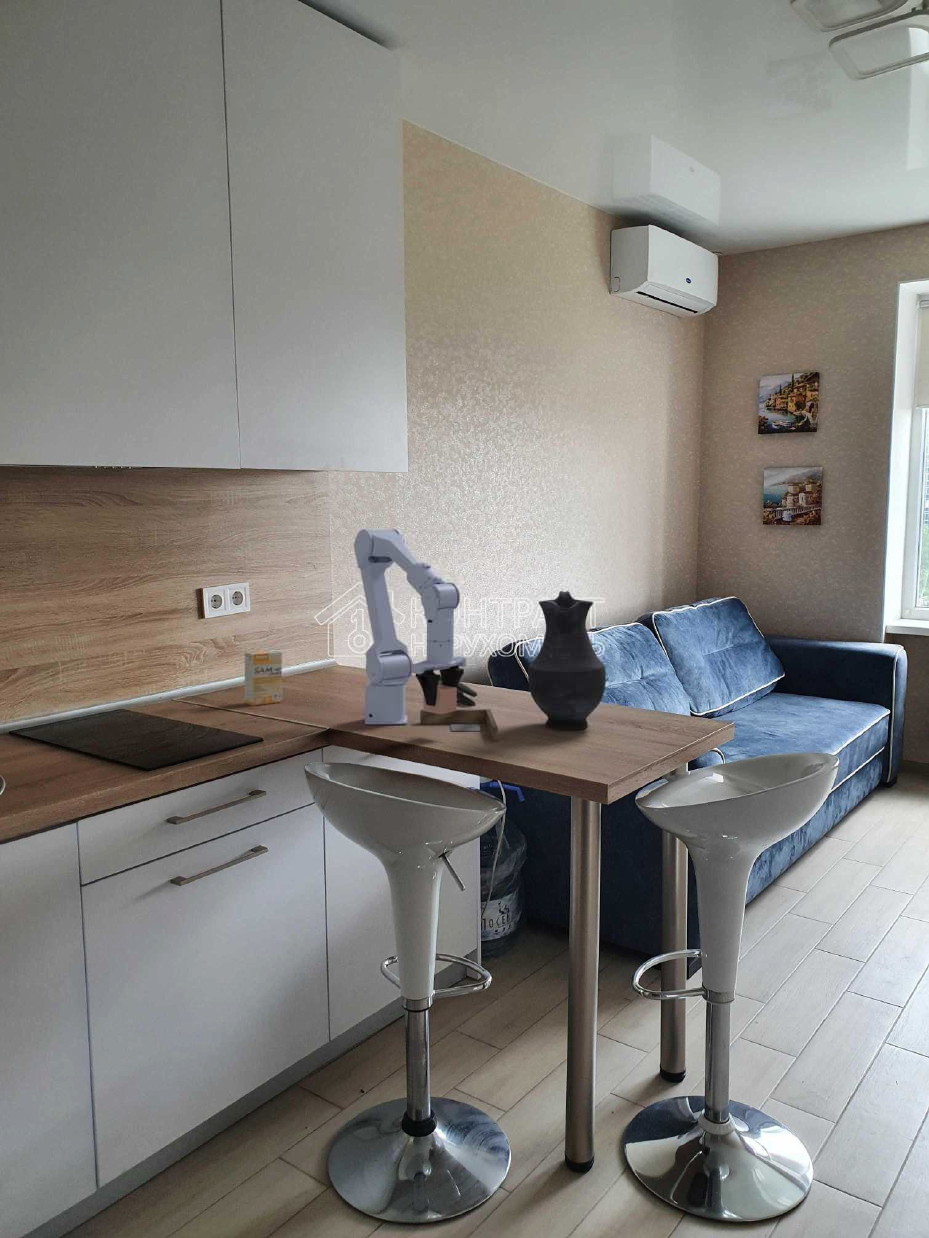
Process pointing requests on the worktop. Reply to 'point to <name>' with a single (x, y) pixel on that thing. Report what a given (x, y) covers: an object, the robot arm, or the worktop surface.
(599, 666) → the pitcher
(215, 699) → the worktop surface
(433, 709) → the cube
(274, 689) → the supplement box
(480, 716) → the arena
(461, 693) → the can opener
